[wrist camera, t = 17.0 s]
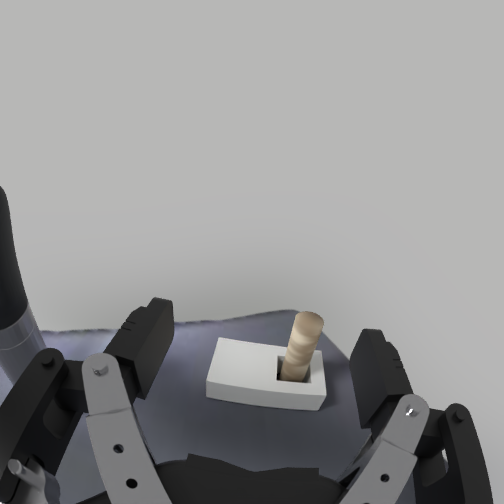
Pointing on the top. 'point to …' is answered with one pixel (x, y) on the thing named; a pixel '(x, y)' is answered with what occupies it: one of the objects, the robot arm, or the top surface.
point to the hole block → (262, 377)
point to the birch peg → (301, 346)
